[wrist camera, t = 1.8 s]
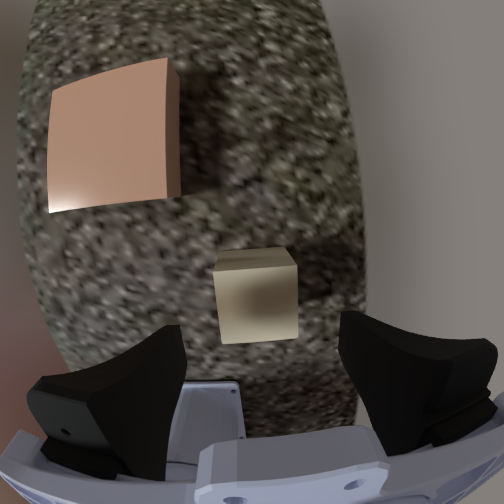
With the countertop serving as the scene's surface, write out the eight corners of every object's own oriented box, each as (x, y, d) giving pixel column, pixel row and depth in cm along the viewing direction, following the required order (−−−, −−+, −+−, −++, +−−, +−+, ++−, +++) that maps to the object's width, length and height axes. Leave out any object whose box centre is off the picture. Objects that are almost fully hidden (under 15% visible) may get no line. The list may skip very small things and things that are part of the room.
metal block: (286, 304, 21) (298, 337, 16) (226, 309, 20) (222, 343, 16) (284, 246, 20) (297, 265, 15) (220, 251, 19) (213, 271, 15)
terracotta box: (182, 196, 19) (167, 198, 15) (78, 207, 19) (49, 212, 15) (180, 79, 17) (167, 57, 13) (79, 102, 17) (52, 90, 13)
